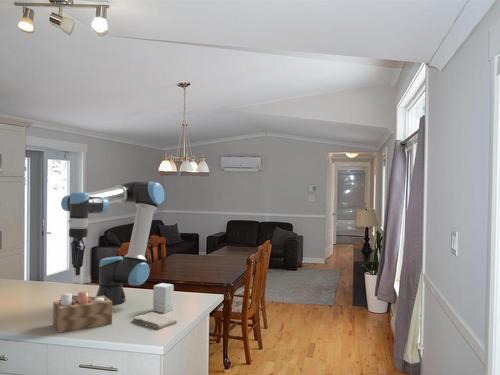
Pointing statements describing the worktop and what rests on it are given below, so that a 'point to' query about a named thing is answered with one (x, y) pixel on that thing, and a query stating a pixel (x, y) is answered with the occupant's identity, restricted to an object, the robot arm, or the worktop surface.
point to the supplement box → (163, 297)
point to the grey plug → (66, 299)
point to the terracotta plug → (83, 297)
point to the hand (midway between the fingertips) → (76, 282)
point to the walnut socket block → (82, 314)
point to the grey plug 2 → (98, 299)
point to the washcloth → (155, 320)
